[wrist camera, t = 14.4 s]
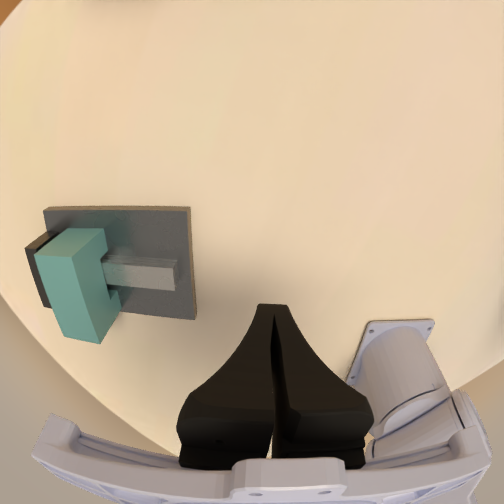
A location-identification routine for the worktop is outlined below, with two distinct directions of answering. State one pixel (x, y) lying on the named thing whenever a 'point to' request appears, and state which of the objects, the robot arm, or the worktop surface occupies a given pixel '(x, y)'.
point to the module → (78, 283)
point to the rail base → (134, 255)
